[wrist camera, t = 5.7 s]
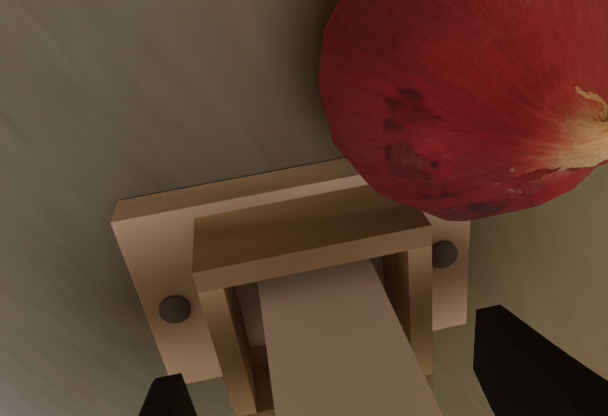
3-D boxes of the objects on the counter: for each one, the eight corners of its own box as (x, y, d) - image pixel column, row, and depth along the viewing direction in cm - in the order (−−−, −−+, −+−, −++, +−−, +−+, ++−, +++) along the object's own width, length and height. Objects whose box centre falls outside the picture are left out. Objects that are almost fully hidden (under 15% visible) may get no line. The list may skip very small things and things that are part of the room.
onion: (434, 165, 16) (609, 360, 9) (259, 96, 14) (311, 276, 7) (549, -24, 14) (901, 41, 7) (360, -140, 12) (583, -216, 5)
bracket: (451, 300, 19) (501, 380, 15) (175, 359, 18) (167, 456, 15) (455, 136, 15) (519, 194, 12) (117, 200, 15) (91, 280, 11)
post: (363, 306, 16) (472, 588, 10) (270, 326, 16) (315, 627, 9) (355, 228, 15) (479, 495, 8) (253, 248, 15) (291, 540, 8)
